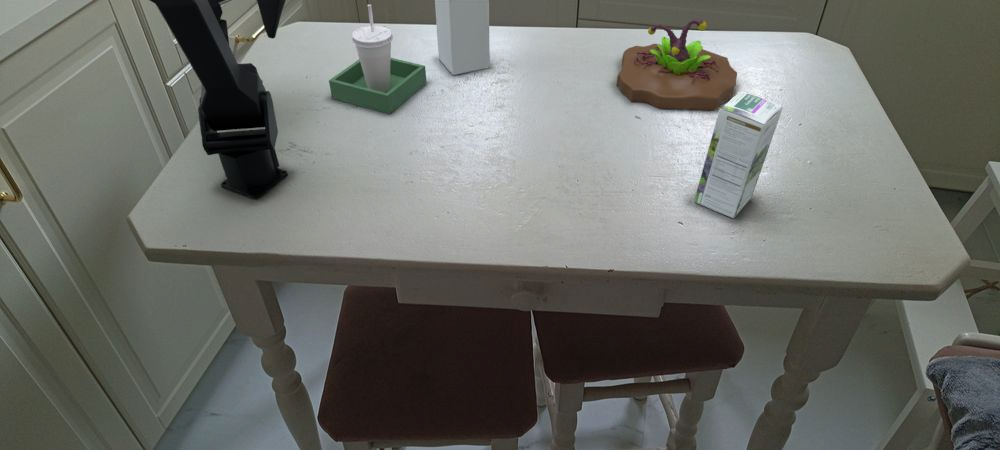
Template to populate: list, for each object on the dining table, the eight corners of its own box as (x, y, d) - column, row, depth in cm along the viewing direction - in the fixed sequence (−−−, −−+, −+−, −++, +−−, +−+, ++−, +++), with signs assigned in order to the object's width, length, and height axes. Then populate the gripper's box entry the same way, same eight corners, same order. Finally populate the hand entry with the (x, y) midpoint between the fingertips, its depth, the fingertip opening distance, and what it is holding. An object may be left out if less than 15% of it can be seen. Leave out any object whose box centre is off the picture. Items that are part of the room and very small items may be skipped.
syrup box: (711, 182, 89) (737, 88, 79) (753, 199, 86) (784, 103, 76) (693, 202, 85) (717, 106, 76) (735, 220, 82) (766, 123, 73)
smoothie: (402, 80, 110) (394, -1, 101) (392, 99, 105) (383, 16, 96) (365, 78, 110) (354, -3, 101) (354, 96, 105) (341, 13, 96)
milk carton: (438, 59, 117) (431, -49, 105) (474, 52, 119) (471, -55, 107) (452, 76, 112) (447, -35, 100) (490, 68, 114) (488, -42, 102)
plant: (735, 118, 101) (753, 52, 94) (611, 102, 105) (619, 37, 98) (733, 63, 116) (749, 2, 109) (625, 50, 120) (633, -10, 113)
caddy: (389, 114, 102) (387, 95, 100) (331, 98, 106) (328, 80, 104) (426, 83, 110) (425, 65, 108) (371, 69, 114) (369, 52, 112)
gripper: (225, -90, 92) (252, 16, 102) (114, -52, 79) (158, 65, 89) (286, -80, 88) (308, 29, 98) (180, -38, 75) (218, 82, 85)
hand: (249, 50), depth 93 cm, fingers open, 9 cm apart
